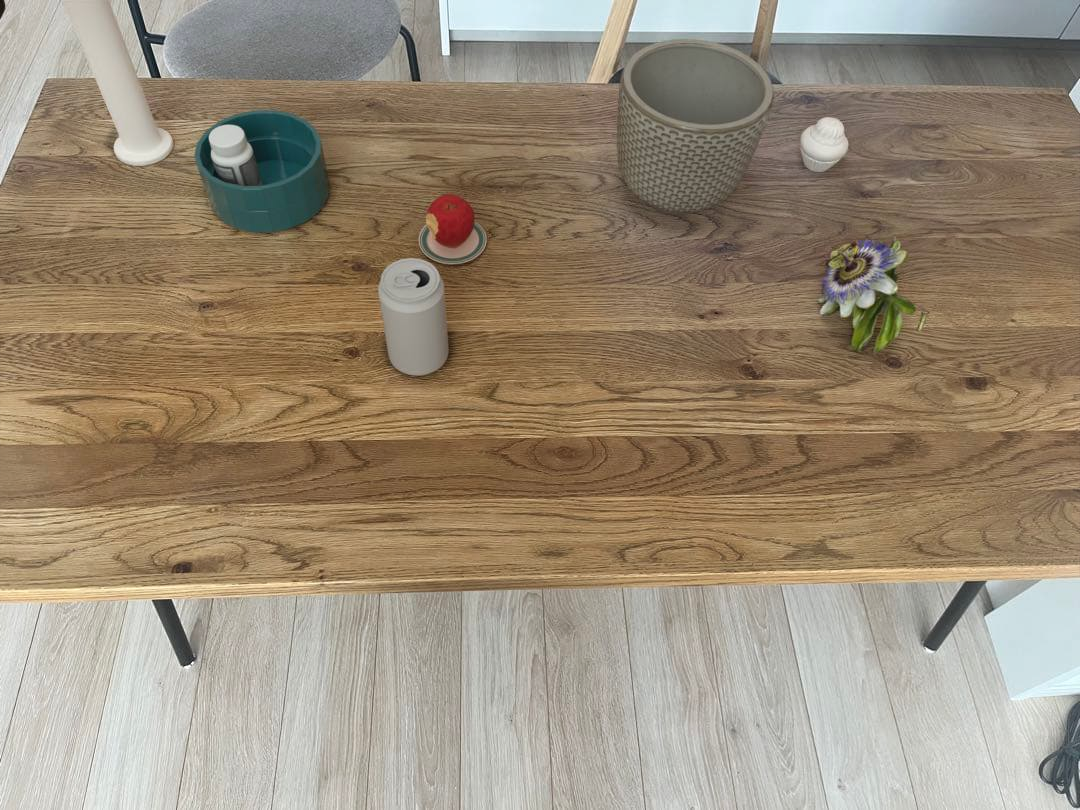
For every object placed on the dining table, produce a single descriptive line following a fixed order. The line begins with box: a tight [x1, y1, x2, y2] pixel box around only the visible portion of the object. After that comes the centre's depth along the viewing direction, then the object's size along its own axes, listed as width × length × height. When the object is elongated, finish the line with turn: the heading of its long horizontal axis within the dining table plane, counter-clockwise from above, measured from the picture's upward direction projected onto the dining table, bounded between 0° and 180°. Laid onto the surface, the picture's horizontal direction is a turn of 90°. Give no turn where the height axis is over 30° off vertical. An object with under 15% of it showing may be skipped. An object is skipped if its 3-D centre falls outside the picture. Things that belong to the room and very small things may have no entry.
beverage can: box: [377, 257, 450, 376], centre depth 88 cm, size 6×6×12 cm
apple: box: [418, 193, 487, 265], centre depth 100 cm, size 8×8×6 cm
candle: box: [61, 0, 174, 167], centre depth 100 cm, size 7×7×25 cm
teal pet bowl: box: [193, 109, 330, 233], centre depth 103 cm, size 14×14×7 cm
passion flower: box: [816, 235, 930, 354], centre depth 96 cm, size 11×11×12 cm
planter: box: [616, 38, 775, 216], centre depth 103 cm, size 17×17×16 cm
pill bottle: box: [209, 125, 263, 186], centre depth 102 cm, size 5×5×8 cm
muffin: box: [799, 116, 849, 173], centre depth 112 cm, size 6×6×7 cm
